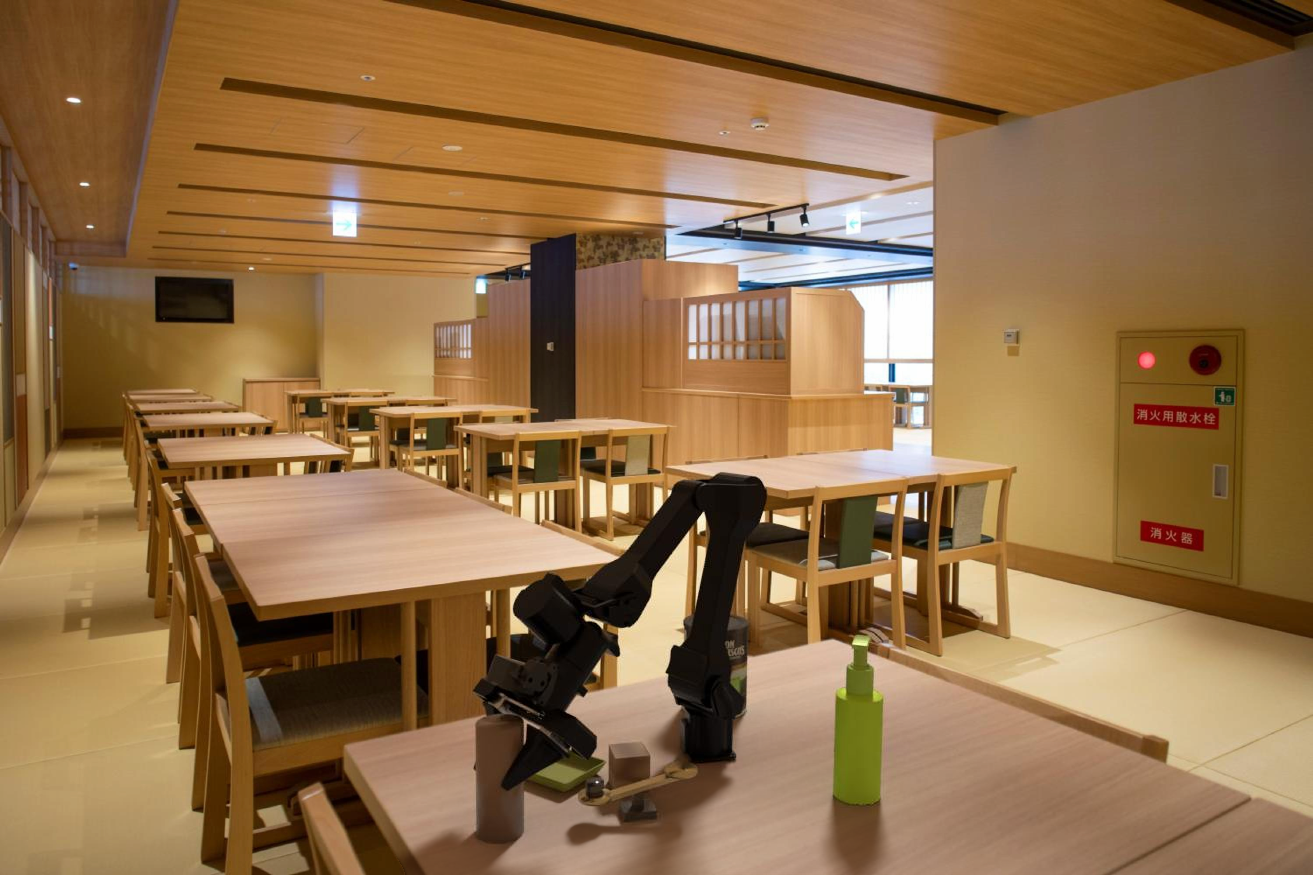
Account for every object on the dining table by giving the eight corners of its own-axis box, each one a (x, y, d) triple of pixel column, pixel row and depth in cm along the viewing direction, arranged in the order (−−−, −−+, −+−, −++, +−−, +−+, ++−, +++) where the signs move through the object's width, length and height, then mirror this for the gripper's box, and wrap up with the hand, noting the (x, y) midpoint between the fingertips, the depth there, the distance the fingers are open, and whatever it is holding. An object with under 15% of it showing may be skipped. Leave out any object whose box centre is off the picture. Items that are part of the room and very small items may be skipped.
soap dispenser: (883, 784, 123) (888, 634, 122) (877, 808, 117) (882, 649, 115) (837, 777, 125) (841, 629, 124) (829, 800, 119) (833, 644, 117)
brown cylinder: (521, 817, 114) (521, 712, 113) (526, 840, 108) (526, 729, 107) (475, 822, 112) (474, 715, 111) (477, 845, 107) (476, 734, 106)
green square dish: (514, 782, 124) (514, 766, 124) (557, 759, 131) (557, 744, 131) (565, 800, 119) (565, 784, 119) (608, 775, 126) (608, 760, 126)
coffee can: (757, 716, 147) (759, 627, 145) (694, 723, 144) (695, 632, 142) (733, 694, 156) (735, 609, 155) (673, 699, 153) (674, 614, 152)
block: (642, 778, 125) (642, 741, 125) (650, 793, 121) (650, 755, 120) (608, 781, 124) (608, 744, 123) (615, 797, 120) (615, 758, 119)
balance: (691, 800, 119) (692, 759, 118) (700, 815, 115) (701, 773, 114) (575, 812, 115) (575, 770, 115) (580, 828, 111) (581, 785, 111)
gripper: (485, 611, 118) (404, 720, 112) (576, 647, 104) (490, 772, 98) (538, 660, 124) (464, 766, 117) (631, 700, 110) (553, 822, 104)
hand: (489, 779), depth 109 cm, fingers closed on brown cylinder, 5 cm apart
